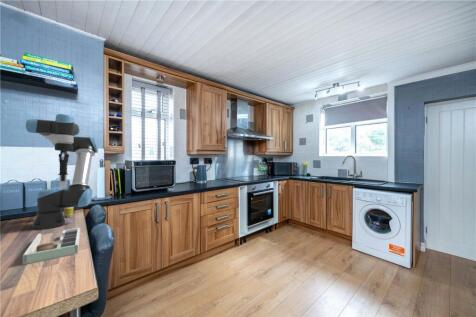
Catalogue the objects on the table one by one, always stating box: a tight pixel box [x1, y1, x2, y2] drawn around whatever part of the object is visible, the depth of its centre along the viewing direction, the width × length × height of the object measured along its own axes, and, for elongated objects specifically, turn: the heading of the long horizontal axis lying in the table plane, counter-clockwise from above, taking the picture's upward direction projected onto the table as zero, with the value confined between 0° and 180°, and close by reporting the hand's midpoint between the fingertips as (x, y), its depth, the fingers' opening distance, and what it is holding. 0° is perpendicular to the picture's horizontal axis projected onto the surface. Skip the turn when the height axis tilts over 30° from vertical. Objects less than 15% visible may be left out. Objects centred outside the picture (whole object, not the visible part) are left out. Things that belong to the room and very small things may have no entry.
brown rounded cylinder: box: [35, 242, 55, 252], centre depth 85 cm, size 6×6×4 cm
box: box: [22, 227, 81, 266], centre depth 93 cm, size 30×16×4 cm, turn 37°
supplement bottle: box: [63, 207, 75, 218], centre depth 145 cm, size 5×5×10 cm
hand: (62, 187), depth 106 cm, fingers closed
